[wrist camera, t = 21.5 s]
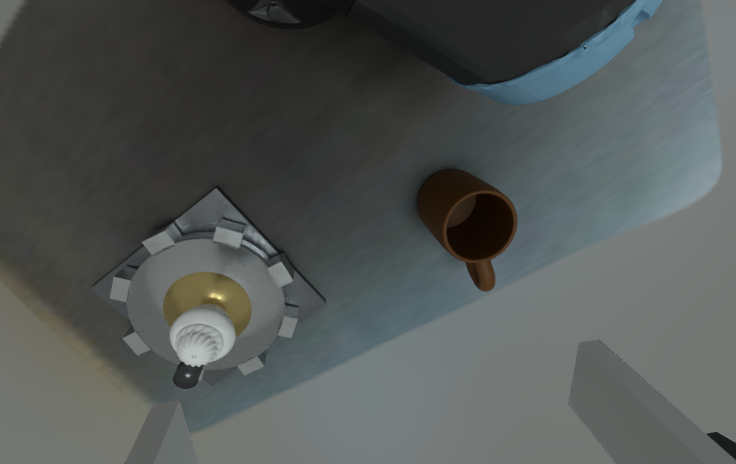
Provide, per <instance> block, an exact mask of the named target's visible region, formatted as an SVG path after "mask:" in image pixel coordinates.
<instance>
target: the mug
mask: <svg viewBox="0 0 736 464" xmlns="http://www.w3.org/2000/svg"><path fill="white" fill-rule="evenodd" d="M418 211H419V214H420V217H421V219H422V221H423V222H424V224H425V225H426V226H427V227H428V229H429V230H430V231H431V233H432V234H433V235H434V237H435V238H436V239H437V240H438V241H439V243H440V244H441V245H442V246H443V247H444V248H445V249H446V250H447V251H448V252H449V253H450V254H451V255H452V256H454V257H455V258H457V259H458V260H461V261H463V262H465V263H466V266H467V269H468V272H469V274H470V276H471V278H472V280H473V282H474V284H475V285H476V286H477V288H478V289H480V290H482V291H485V292H487V291H490V290H492V288H493V287H494V286H495V274H494V270H493V267H492V264H491V261H490V260H491V259H493V258H495V257H496V256H498V255H499V254H501V253H502V252H503V251H504V250H505V249H506V248H507V247H508V245H509V244H510V243H511V241H512V239H513V237H514V235H515V232H516V228H517V214H516V210H515V208H514V205H513V204H512V202H511V201H510V200H509V199H508V198H507V197H506V196H505V195H504V194H502V193H501V192H500V191H499V190H497V189H496V188H494V187H493V186H491V185H489V184H488V183H486V182H484V181H482V180H480V179H479V178H477V177H475V176H473V175H471V174H469V173H467V172H465V171H462V170H457V169H449V170H444V171H441V172H438V173H436V174H435V175H433V176H432V177H430V178H429V179H428V180H427V181H426V183H425V184H424V185H423V187H422V189H421V191H420V193H419V197H418Z"/></svg>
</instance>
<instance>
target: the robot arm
mask: <svg viewBox="0 0 736 464" xmlns="http://www.w3.org/2000/svg"><path fill="white" fill-rule="evenodd" d="M227 1H228V2H229V3H230V4H231V5H232V6H233V7H235V8H236V9H237V10H238V11H240V12H241V13H243V14H244V15H246V16H247V17H249V18H251V19H253V20H255V21H257V22H259V23H261V24H264V25H267V26H271V27H275V28H281V29H299V28H305V27H310V26H313V25H316V24H318V23H321V22H323V21H324V20H326V19H328V18H330V17H331V16H333V15H334V14H335V13H336V12H338V11H339V10H341V11H342V12H344V13H346V14H347V16H349V17H350V18H352V19H354V20H356V21H357V22H359V23H361V24H362V25H364V26H366V27H367V28H369V29H371V30H372V31H374V32H376V33H377V34H379V35H381V36H382V37H384V38H386V39H387V40H389V41H391V42H393V43H394V44H396V45H398V46H399V47H401V48H403V49H404V50H406V51H408V52H409V53H411V54H413V55H414V56H416V57H418V58H419V59H421V60H423V61H425V62H426V63H428V64H430V65H431V66H433V67H435V68H436V69H438V70H440V71H441V72H443V73H445V74H446V75H447V77H448V78H449V79H450V80H451V81H453V82H454V83H455V84H457V85H459V86H463V87H465V88H466V89H471V90H476V91H478V92H480V93H482V94H483V95H485V96H487V97H489V98H491V99H493V100H495V101H497V102H501V103H505V104H510V105H524V104H531V103H535V102H539V101H543V100H545V99H548V98H551V97H553V96H556V95H558V94H560V93H562V92H564V91H566V90H568V89H570V88H572V87H573V86H575V85H577V84H578V83H580V82H582V81H583V80H585V79H586V78H588V77H589V76H591V75H592V74H594V73H595V72H596V71H598V70H599V69H600V68H602V67H603V66H604V65H605V64H607V63H608V62H609V61H610V60H611V59H612V58H614V57H615V56H616V55H617V54H618V53H619V52H620V51H621V50H622V49H623V48H624V47H625V46H626V45H627V44H628V43H629V42H630V41H631V40H632V39H633V38H634V35H635V33H634V30H633V27H634V26H636V25H637V24H638V23H640V22H641V21H644V20H646V19H648V18H650V17H652V15H653V14H654V12H655V11H656V10H657V8H658V7H659V5H660V4H661V2H662V1H663V0H227ZM569 406H570V407H571V408H572V409H573V411H574V412H575V413H576V414H577V416H578V417H579V418H580V419H581V421H582V422H583V423H584V424H585V425H586V427H587V428H588V429H589V431H590V432H591V433H592V434H593V436H594V437H595V438H596V439H597V440H598V442H599V443H600V444H601V446H602V447H603V448H604V449H605V451H607V453H608V454H609V455H610V457H611V458H612V459H613V460H614V462H615V463H616V464H736V443H735V442H733V441H731V440H730V439H728V438H726V437H724V436H723V435H721V434H719V433H718V432H714V433H708V434H706V433H704V432H703V431H702V430H701V429H700V428H699V427H698V426H697V425H695V424H694V423H693V422H692V421H691V420H690V419H689V418H687V417H686V416H685V415H684V414H683V413H682V412H681V411H680V410H679V409H677V408H676V407H675V406H674V405H673V404H672V403H671V402H669V401H668V400H667V399H666V398H665V397H664V396H663V395H662V394H660V393H659V392H658V391H657V390H656V389H655V388H654V387H653V386H651V385H650V384H649V383H648V382H647V381H646V380H645V379H644V378H642V377H641V376H640V375H639V374H638V373H637V372H636V371H634V370H633V369H632V368H631V367H630V366H629V365H628V364H627V363H626V362H624V361H623V360H622V359H621V358H620V357H619V356H618V355H616V354H615V353H614V352H613V351H612V350H611V349H610V348H609V347H607V346H606V345H605V344H604V343H603V342H602V341H601V340H593V341H586V342H580V343H579V346H578V351H577V357H576V363H575V368H574V374H573V380H572V386H571V393H570V398H569ZM124 464H199V463H198V460H197V457H196V453H195V450H194V447H193V444H192V440H191V437H190V434H189V430H188V427H187V424H186V421H185V417H184V414H183V411H182V407H181V404H180V401H173V402H166V403H159V404H153V406H152V408H151V410H150V412H149V414H148V416H147V418H146V420H145V422H144V424H143V426H142V428H141V430H140V432H139V434H138V437H137V439H136V441H135V443H134V445H133V447H132V449H131V451H130V453H129V455H128V457H127V459H126V461H125V463H124Z"/></svg>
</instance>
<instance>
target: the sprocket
mask: <svg viewBox="0 0 736 464" xmlns="http://www.w3.org/2000/svg"><path fill="white" fill-rule="evenodd" d="M245 230H246V226H245V225H242V224H238V223H235V222H231V221H228V220H224V219H221V221H220V222H219V224H218V225H217V227H216V231H215V232H196V233H189V234H185V235H182V234H181V233H180V231H179V230H178V229H177V227H176V226H175V224H174V223H171V224H169V225H167V226H165V227H163V228H161V229H159V230H157V231H155V232H152V233H151V234H150V235H149V236H147V237H146V238H145V239H144V240H143V241H142V243H143V244H144V246H145V247H146V248H147V250H148V251H149V252H150V254H151V255H150V256H149V257H148V258H147V259H146V260H145V261H144V262H143V264H142V265H141V266H140V267H139V268H138V269H134V268H130V267H126V266H124V267H123V268H122V269H121V270H120V271H119V272H118V273H117V274H116V275H115V276H114V278H113V283H112V289H111V294H110V299H114V300H119V301H123V302H127V310H128V315H129V319H130V321H131V324H132V326H131V327H130V328H129V330H128V331H127V332H126V334H125V335H124V336H123V340H124V341H125V342H126V343H127V344H128V345H129V346H130V347H131V348H132V350H133V351H134V352H135V353H136V354H137V355H140V354H142V353H144V352H146V351H148V350H150V349H151V350H153V351H154V352H155V353H156V354H158V355H160V356H161V357H163V358H164V359H166V360H169V361H171V362H173V363H175V364H178V368H177V370H176V372H175V374H174V376H173V382H174V384H175V385H176V386H178V387H180V388H183V389H189V388H192V387H194V386H195V385H196V384H197V382H198V380H199V381H201V380H202V377H203V374H204V371H205V370H218V369H226V368H231V367H235V366H238V368H239V369H240V370H241V372H242V373H243V374H244V375H247V374H249V373H251V372H253V371H255V370H257V369H259V368H262V367H264V366H265V360H266V351H265V350H266V349H267V348H268V347H269V346H270V345H271V343H272V342H273V341H274V340H275V338H276V336H277V335H279V336H284V337H288V338H292V335H293V332H294V329H295V326H296V324H297V321H298V309H299V308H297V307H293V306H289V305H285V301H286V295H285V287H284V285H286V284H288V283H290V282H292V281H294V270H293V268H292V266H291V265H290V263H289V261H288V260H287V258H286V257H285V255H284V253H281V254H279V255H277V256H274V257H272V258H269V257H268V256H267V255H266V254H265V253H264V252H263V251H261V250H260V249H259V248H258V247H256V246H254V245H253V244H251V243H250V242H247V241H245V240H243V237H244V233H245ZM209 303H211V304H212V303H213V304H216V305H219V306H221V307H222V308H223V309H224V310H225V311H226V313H227V314H228V315H229V317H230V318H231V320H232V322H233V326H234V328H235V332H236V339H235V342H234V345H233V347H232V348H231V350H230V351H229V352H228V353H227V354H226V355H225V356H224V357H222V358H220V359H218V360H216V361H213V362H209V363H207V365H203V364H202V365H201V366H200V367H198V366H197V365H195V366H194V367H192V366H191V365H186V364H185V363H184V362H182V361H181V360H180V359H179V357H178V355H177V352H176V351H175V350H174V349H173V347H172V345H171V342H170V329H171V327H172V325H173V323H174V322H175V320H176V319H177V318H178V317H179V316H180V315H181V314H182V313H184V312H186V311H187V310H188V309H192V307H196V306H199V305H203V304H209Z"/></svg>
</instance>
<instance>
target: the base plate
mask: <svg viewBox="0 0 736 464" xmlns="http://www.w3.org/2000/svg"><path fill="white" fill-rule="evenodd" d="M221 219H224V220H228V221H231V222H235V223H238V224H242V225H245V226H246V230H245V233H244V237H243V240H245V241H247V242H250V243H251V244H253V245H254V246H256V247H258V248H259V249H260V250H261V251H263V252H264V253H265V254H266V255H267V256H268V257H269V258H272V257H274V256H277V255H279V254H281V252H280V251H279V250H278V249H277V248H276V247H275V246H274V245H273V244H272V243H271V242H270V241H269V240H268V239H267V237H266V236H265V235H264V234H263V233H262V232H261V231H260V230H259V229H258V228H257V227H256V226H255V225H254V224H253V223H252V222H251V221H250V220H249V219H248V217H247V216H246V215H245V214H244V213H243V212H242V211H241V210H240V209H239V208H238V207H237V206H236V205H235V204H234V203H233V202H232V201H231V200H230V199H229V198H228V196H227V195H226V194H225V193H224V192H223V191H222V190H221V189H220V188H219V187H218V186H217V187H216V188H215V189H214V190H212V191H211V192H210V193H209V194H207V195H206V196H205V197H204V198H202V199H201V200H200V201H199V202H197V203H196V204H195V205H194V206H192V207H191V208H190V209H189V210H187V211H186V212H185V213H184V214H182V215H181V216H180V217H179V218H177V219H176V220H175V221H174V222H172V223H174V224H175V226H176V227H177V229H178V230H179V231H180V233H181V234H182V235H185V234H189V233H196V232H215V231H216V227H217V225H218V224H219V222H220V221H221ZM150 255H151V254H150V252H149V251H148V250H147V248H146V247H145V246H143V247H141V248H140V249H139V250H138V251H136V252H135V253H134V254H133V255H131V256H130V257H129V258H128V259H126V260H125V261H124V262H123V263H121V264H120V265H119V266H118V267H116V268H115V269H114V270H113V271H111V272H110V273H109V274H108V275H106V276H105V277H104V278H103V279H101V280H100V281H99V282H98V283H96V284H95V285H94V286H93V287H92V288H91V289H90V290H91V291H92V292H94V293H95V294H96V295H98V296H99V297H100V298H101V299H103V300H104V301H105V302H106V303H108V304H109V305H110V306H111V307H113V308H114V309H115V310H117V311H118V312H119V313H120V314H122V315H123V316H124V317H125V318H127V319H128V320H129V321H130V319H129V315H128V310H127V302H123V301H119V300H114V299H110V294H111V289H112V283H113V278H114V276H115V275H116V274H117V273H118V272H119V271H120V270H121V269H122V268H123V267H124V266H126V267H130V268H134V269H138V268H139V267H140V266H141V265H142V264H143V262H144V261H145V260H146V259H147V258H148V257H149V256H150ZM289 263H290V262H289ZM290 265H291V266H292V268H293V270H294V281H292V282H290V283H288V284H286V285H284V287H285V295H286V301H285V305H289V306H293V307H297V308H299V309H298V321H297V324H298V323H299V322H301V321H302V320H303V319H305V318H306V317H307V316H309V315H310V314H312V313H313V312H314V311H316V310H317V309H318V308H320V307H321V306H323V305H324V304H325V303H326V299H325V298H324V297H323V296H322V295H321V294H320V293H319V292H318V291H317V290H316V289H315V288H314V287H313V286H312V285H311V284H310V283H309V282H308V281H307V280H306V278H305V277H304V276H303V275H302V274H301V273H300V272H299V271H298V270H297V269H296V268H295V267H294V266H293V265H292V264H291V263H290ZM297 324H296V325H297ZM279 337H280V336H279V335H277V336H276V338H275V340H276V339H277V338H279ZM275 340H274V341H275ZM236 368H238V366H235V367H231V368H226V369H218V370H205V371H204V374H203V377H202V378H203V379H204V380H205V381H207V382H208V383H209V384H210V385H212V386H213V385H214V384H216V383H217V382H218V381H220V380H221V379H223V378H224V377H225V376H227V375H228V374H229V373H231V372H232V371H233V370H235V369H236Z"/></svg>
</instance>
